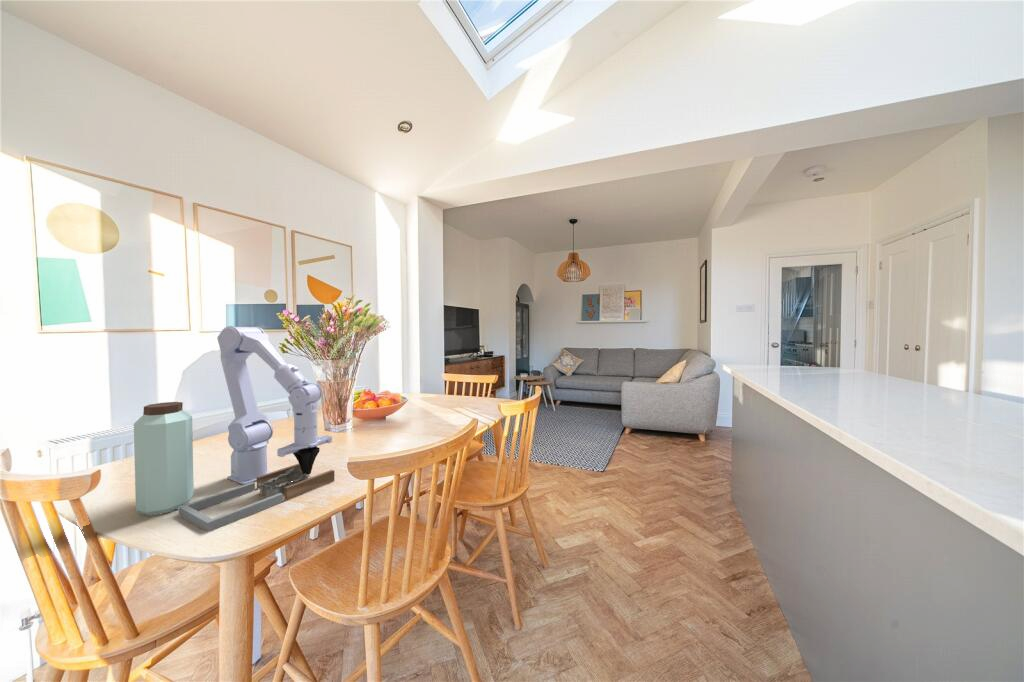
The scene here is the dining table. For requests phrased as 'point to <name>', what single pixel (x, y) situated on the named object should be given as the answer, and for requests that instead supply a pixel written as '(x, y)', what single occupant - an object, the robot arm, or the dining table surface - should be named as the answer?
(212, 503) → the grey bay
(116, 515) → the dining table surface
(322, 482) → the walnut rack
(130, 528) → the dining table surface
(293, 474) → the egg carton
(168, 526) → the dining table surface
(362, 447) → the dining table surface
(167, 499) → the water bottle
